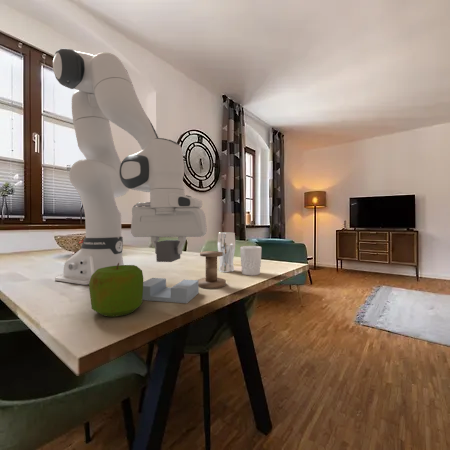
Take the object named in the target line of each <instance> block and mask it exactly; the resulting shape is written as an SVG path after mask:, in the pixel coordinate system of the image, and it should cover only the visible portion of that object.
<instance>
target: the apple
mask: <svg viewBox="0 0 450 450" xmlns="http://www.w3.org/2000/svg"><path fill="white" fill-rule="evenodd" d="M143 282H144V273H143V270H142V269H141V268H140V267H139V266H137V265H135V264H124V265H119V263H118V265H117V266H109V267H104V268H100V269H97V270H96V271H95V272H94V273H93V275H92V276H91V279H90V282H89V284H88V288H89V297H90V304H91V305H90V306H91V309H92V310H93V311H94V312H96V313H98V314H100V315H101V316H105V317H112V318H114V317H121V316H126V315H128V314H132V313H133V312H134V311H135V310H137V309H138V308H140V306H141V305H142V304H143V300H142V297H143Z"/></svg>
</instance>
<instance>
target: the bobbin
mask: <svg viewBox="0 0 450 450" xmlns="http://www.w3.org/2000/svg"><path fill="white" fill-rule="evenodd" d="M222 255H223V252H219V251H218V250H217V251H216V250H215V251H214V250H209V251H206V250H205V251H200V253H199V256H200V257H205V277H202V278H199V279H197V280H198V288H201V289H208V290H209V289H210V290H211V289H219V288H224V287H226V284H227V282H226V279H225V278H221V277H218V258H219V256H222Z"/></svg>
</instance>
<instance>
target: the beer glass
mask: <svg viewBox="0 0 450 450" xmlns="http://www.w3.org/2000/svg"><path fill="white" fill-rule="evenodd" d="M235 234H236V233H235V232H229V231H227V232H226V231H224V232H223V231H222V232H218V233H217V251H219V252H223V255H222V256H218V258H219V259H218V260H219V265H218V272H220V273H233V272H234V271H235V268H234V267H235V266H234V256H235V251H236V235H235Z"/></svg>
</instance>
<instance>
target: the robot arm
mask: <svg viewBox="0 0 450 450" xmlns="http://www.w3.org/2000/svg"><path fill="white" fill-rule="evenodd" d="M52 70H53V72H54V77H55V79H56V81H57V82H58V83H59V84H60V85H62V86H63V87H65V88H67V89H70V90H76V91H75V92H74V93H73V94H72V96H71V116H72V122H73V127H74V132H75V133H74V134H75V137H76V143H77V146H78V148H79V150H80V152H81V153H82V155H84V157H85V159H79V160H76V161H75V162H74V163H73V164H72V165H71V166H70V169H69V173H68V174H69V175H68V176H69V181H70V183H71V184H72V186H73V187H74V188H75V190H76V191H77V192H78V196H79V198H80V201H81V203H82V206H83V211H84V218H85V219H84V220H85V221H84V222H85V223H84V224H85V237H84V238H83V239H79V240H78V241H79V242H78V244H79V245H80V244H81V247H80V249H79V250H77V251H76V252H75V253H74V254H73V255H71V257H69V258H68V259H67V260H66V261H65V262H64V264H63V271H62V272H63V273H62V274H60V275H59V274H58V275H57V276H56V277H55V278H54V281H57V282H62V283H70V284H71V283H72V284H77V285H87V286H88V285H89V282H90V279H91V276H92V275H93V273H94V272H95V271H96V270H97V269H100V268H104V267H109V266H117V265H118V263H119V265H125V263H124V258H123V257H124V256H123V248H124V241H123V240H124V238H123V236H122V213H121V211H120V210H119V209H118V206H117V203H116V200H115V198H119V197H122V196H124V195H126V194H127V193H128V192H129V191H130V190H132V191H139V192H144V193H149V199H150V200H149V201H146V202H140V201H139V202H137V203H136V204H134V205H133V206H132V208H131V215H132V216H131V222H130V223H131V225H130V234H131V235H132V236H133V238H134V237H135V238H146V237H147V238H150V242H151V244H152V245H153V247H154V251H155V255H156V242H159V241H160V238H166V237H167V238H177V240H178V241H180V243H179V245H178V247H176V248H174V250H175V252H174V253H175V254H180V255H182V254H183V247H184V245H185V244H186V241H187V237H188V238H196V237H197V238H201V237H205V236H206V234H207V231H208V230H207V221H206V213H205V212H204V210H203V209H202V208H203V201H202V200H201V199H198V198H196V197H192V196H190V195H188V194H187V195H186V194H185V186H184V181H183V180H184V176H185V165H184V164H185V163H184V162H185V161H184V155H183V153H184V152H183V149H182V146H181V145H180V144H179V143H178V142H176V141H174V140H171V139H168V138H164V137H163V138H162V137H159V136H158V134H157V131H156V129H155V128H154V127H155V126H154V125H153V123H152V121H151V120H150V118H149V117H148V115H147V114H146V113H147V112H146V111H145V110H144V108H143V105H142V104H141V102H140V99H139V98H138V95H137V92H136V91H135V90H136V89H135V87H134V85H133V82H132V80H131V77H130V75H129V73H128V70H127V68H126V67H125V65H124V64H123V62H122V60H121V59H120V58H119V57H117V55H115V54H113V53H110V52H106V51H105V52H98V53H97V54H95V55H93V54H91V53H87V52H83V51H82V52H81V51H76V50H75V49H72V48H65V47H64V48H63V47H62V48H59V49H58V50H57V51H55V53H54V55H53V60H52ZM110 122H111V123H112V124H114V125H116V126H117V127H119V128H121V129H122V130H124V132H126V133H128V134H129V135H131V137H133V138H134V139H135V140H136V142H137V143H138V144H139V146H140V149H141V150H140V151H138V152H136V153H133V154H129V155H127V156H125V158H124V159H122V161H121V159H120V156H119V154H118V151H117V149H116V145H115V143H114V138H113V134H112V129H111V124H110Z"/></svg>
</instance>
